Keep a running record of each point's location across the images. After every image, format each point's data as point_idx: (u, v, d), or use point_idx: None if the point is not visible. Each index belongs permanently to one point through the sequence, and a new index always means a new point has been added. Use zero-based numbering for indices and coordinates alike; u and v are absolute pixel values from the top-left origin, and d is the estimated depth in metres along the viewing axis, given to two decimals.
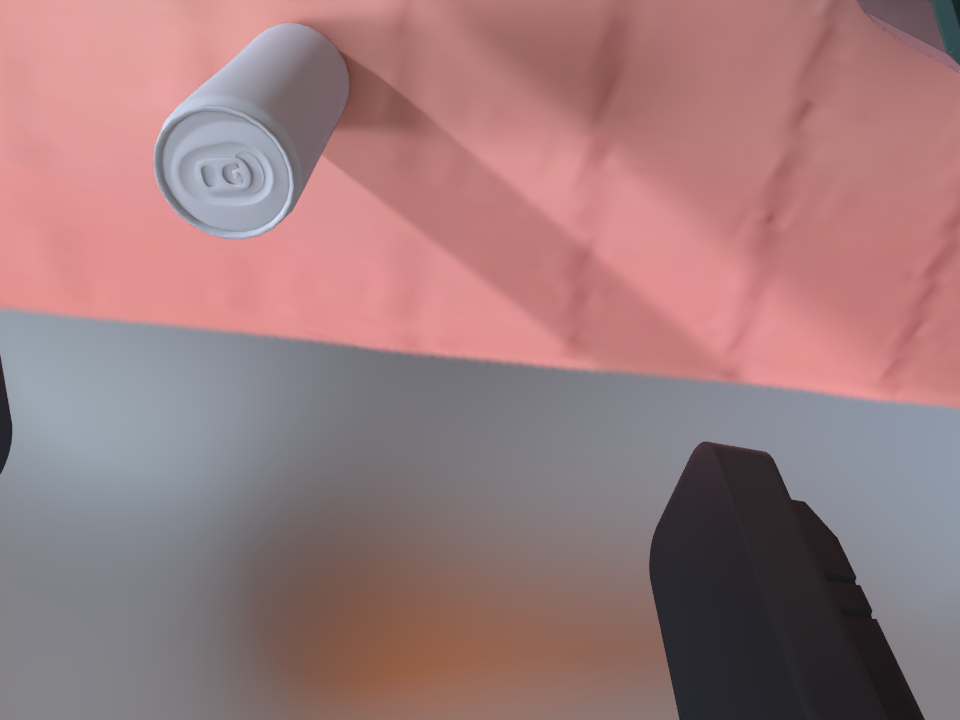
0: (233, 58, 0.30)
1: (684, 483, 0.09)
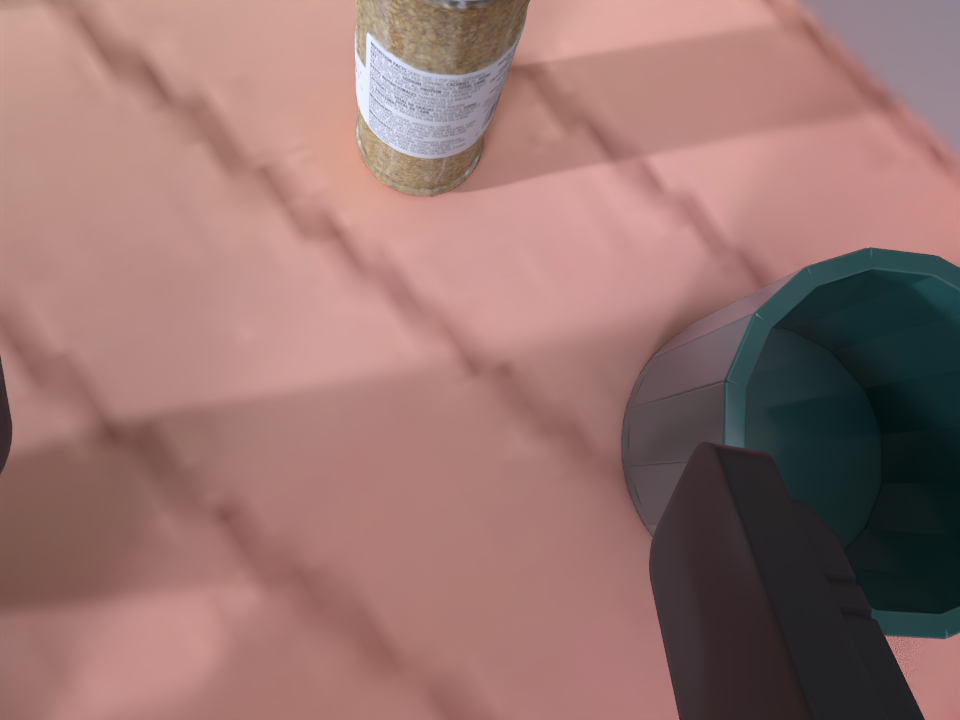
0: None
1: (684, 483, 0.09)
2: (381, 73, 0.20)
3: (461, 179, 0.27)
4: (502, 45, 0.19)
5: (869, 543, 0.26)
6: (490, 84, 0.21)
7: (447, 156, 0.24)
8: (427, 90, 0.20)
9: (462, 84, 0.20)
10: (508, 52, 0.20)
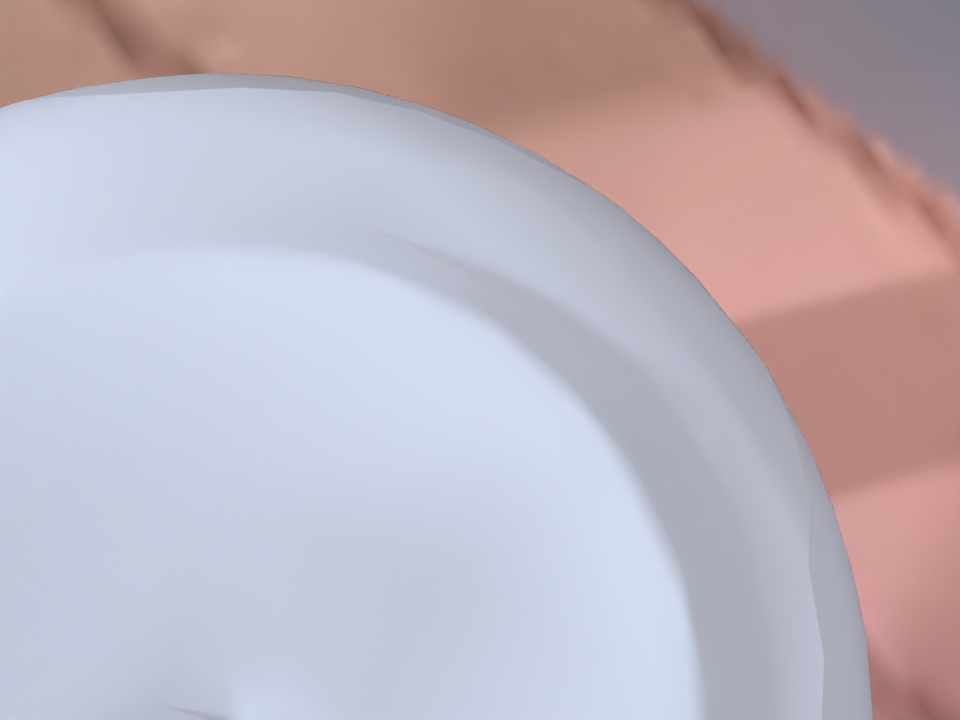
0: None
1: None
2: None
3: None
4: None
5: None
6: None
7: None
8: None
9: None
10: None
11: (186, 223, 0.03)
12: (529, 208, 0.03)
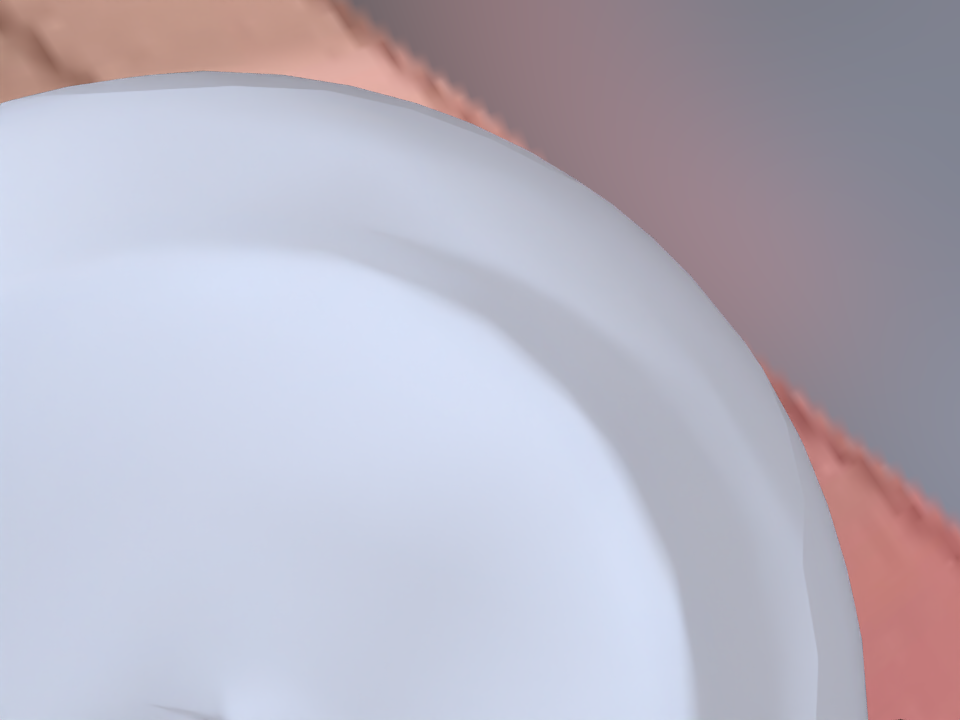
0: None
1: None
2: None
3: None
4: None
5: None
6: None
7: None
8: None
9: None
10: None
11: (178, 220, 0.03)
12: (522, 205, 0.03)
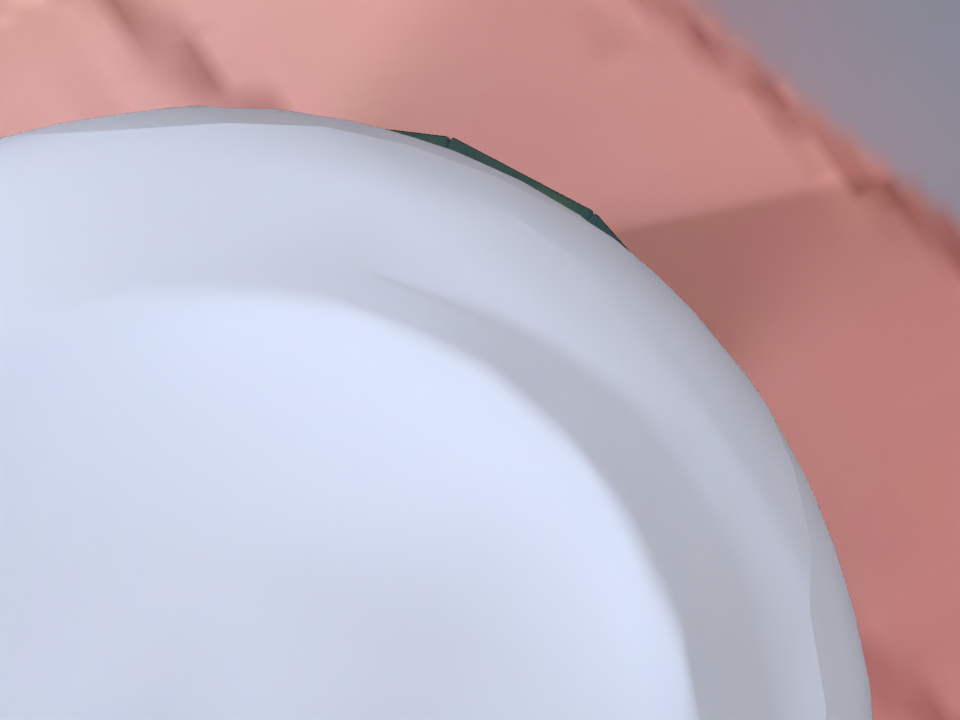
0: None
1: None
2: None
3: None
4: None
5: None
6: None
7: None
8: None
9: None
10: None
11: (169, 264, 0.03)
12: (522, 244, 0.03)
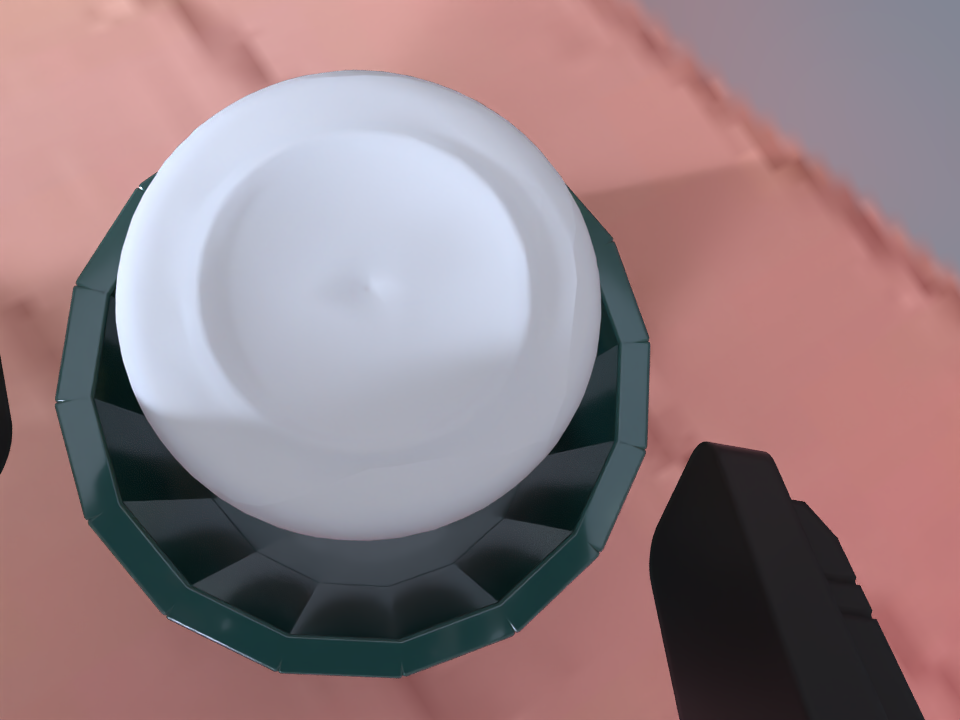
0: None
1: (684, 483, 0.09)
2: None
3: None
4: None
5: (489, 537, 0.19)
6: None
7: None
8: None
9: None
10: None
11: (350, 122, 0.07)
12: (472, 120, 0.08)
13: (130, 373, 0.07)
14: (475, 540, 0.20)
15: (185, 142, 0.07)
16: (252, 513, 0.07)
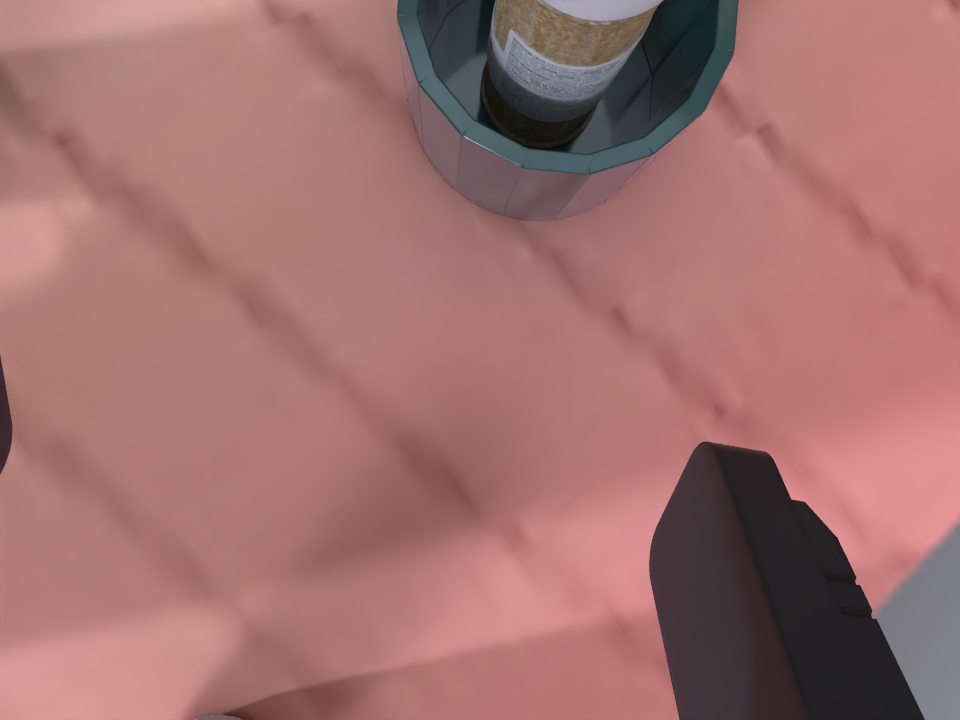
0: None
1: (684, 483, 0.09)
2: (519, 60, 0.22)
3: (578, 131, 0.29)
4: (634, 38, 0.21)
5: None
6: (618, 66, 0.22)
7: (571, 119, 0.26)
8: (562, 77, 0.22)
9: (595, 71, 0.22)
10: (638, 41, 0.21)
11: None
12: None
13: None
14: None
15: None
16: None
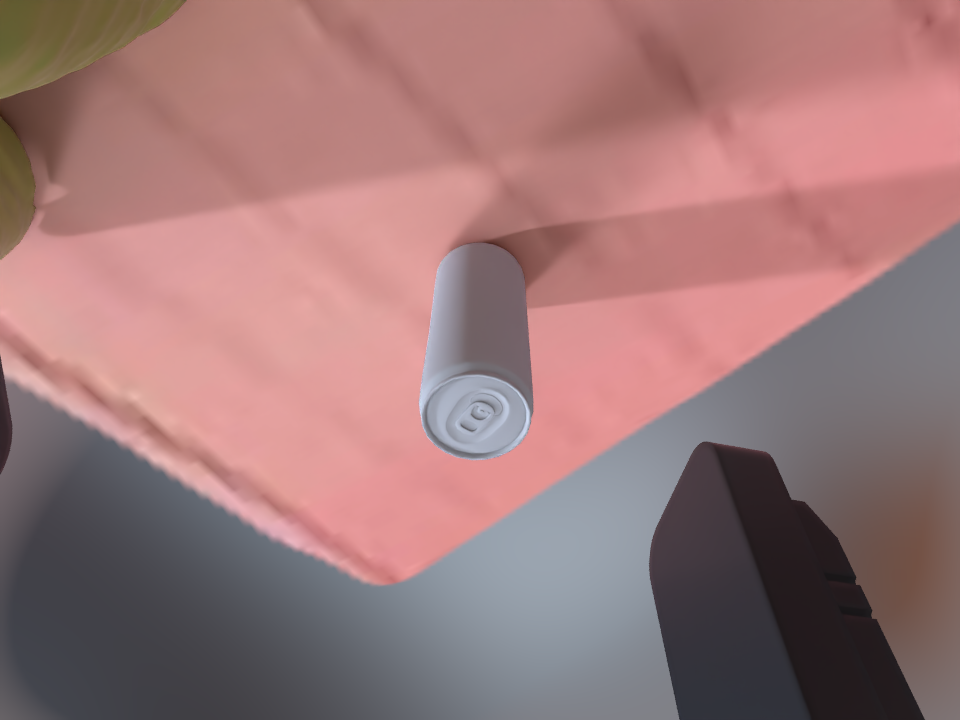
0: None
1: (684, 483, 0.09)
2: None
3: None
4: None
5: None
6: None
7: None
8: None
9: None
10: None
11: None
12: None
13: None
14: None
15: None
16: None
